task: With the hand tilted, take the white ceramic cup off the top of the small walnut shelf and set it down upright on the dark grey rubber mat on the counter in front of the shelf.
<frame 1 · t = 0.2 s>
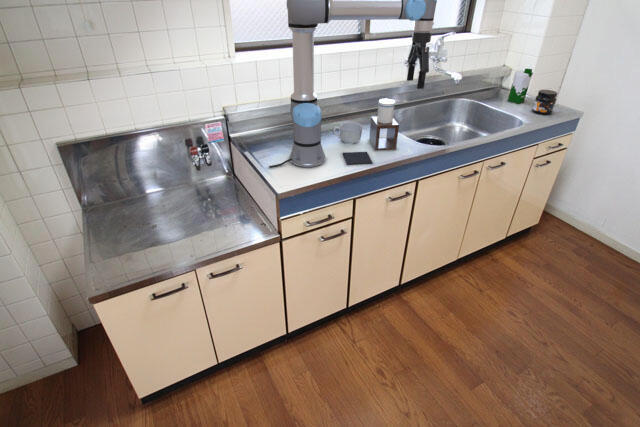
hand: (414, 84, 169), 28 cm above the counter, tool pointing down, fingers open, 13 cm apart
teacup: (346, 141, 186), on the counter
mat: (357, 158, 170), on the counter
shelf: (382, 144, 183), on the counter
cup: (384, 120, 176), point 12 cm above the counter, touching shelf
supplement container: (541, 112, 224), on the counter
milk carton: (515, 102, 241), on the counter
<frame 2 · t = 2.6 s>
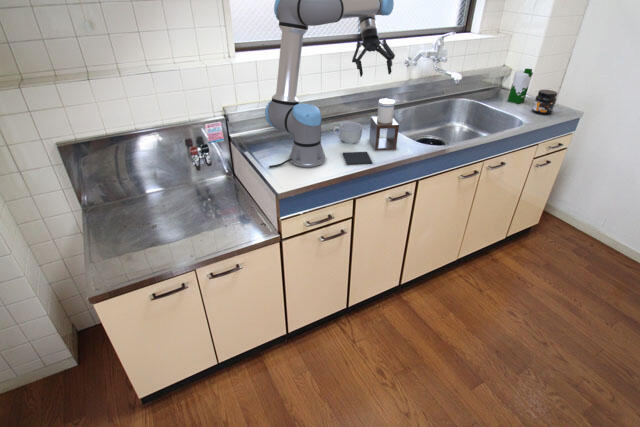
hand: (375, 74, 179), 29 cm above the counter, tool tilted 40°, fingers open, 13 cm apart
nothing on the counter moved.
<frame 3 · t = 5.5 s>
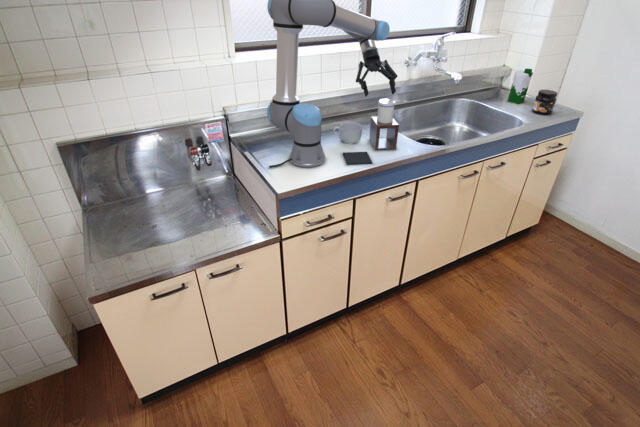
hand: (380, 94, 176), 22 cm above the counter, tool tilted 45°, fingers open, 13 cm apart
nothing on the counter moved.
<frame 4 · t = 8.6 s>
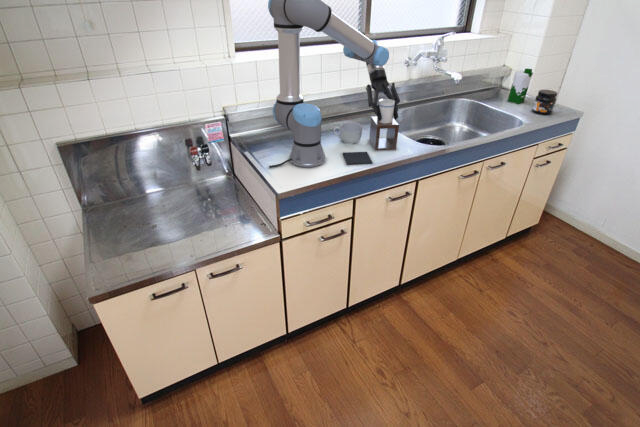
hand: (388, 119, 172), 14 cm above the counter, tool tilted 45°, fingers closed on cup, 7 cm apart
cup: (384, 120, 176), point 12 cm above the counter, touching gripper, shelf
everything else where it was.
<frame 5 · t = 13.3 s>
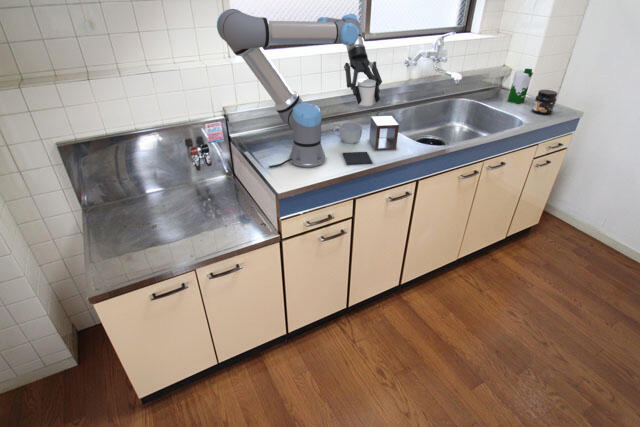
hand: (368, 101, 155), 26 cm above the counter, tool tilted 45°, fingers closed on cup, 7 cm apart
cup: (365, 103, 159), point 24 cm above the counter, touching gripper
everything else where it was.
when the fingers open (3 cm above the counter, at t = 17.9 s): cup stays where it is, resting on mat.
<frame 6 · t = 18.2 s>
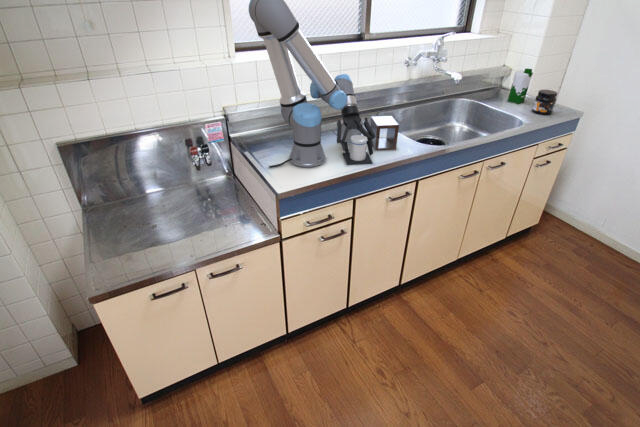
hand: (360, 155, 166), 3 cm above the counter, tool tilted 45°, fingers open, 10 cm apart
cup: (357, 157, 169), point 1 cm above the counter, touching mat
everything else where it was.
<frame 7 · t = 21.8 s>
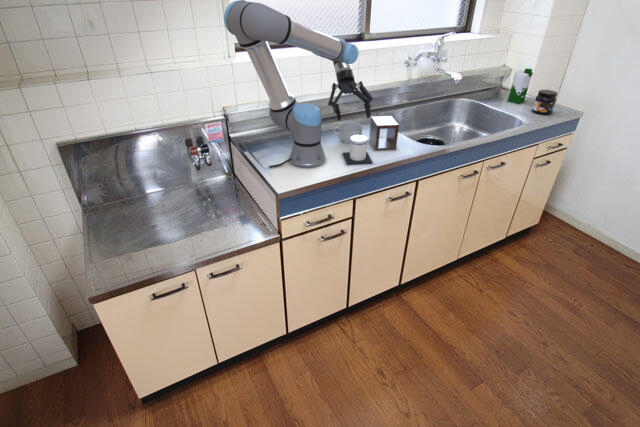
hand: (354, 117, 166), 17 cm above the counter, tool tilted 45°, fingers open, 13 cm apart
nothing on the counter moved.
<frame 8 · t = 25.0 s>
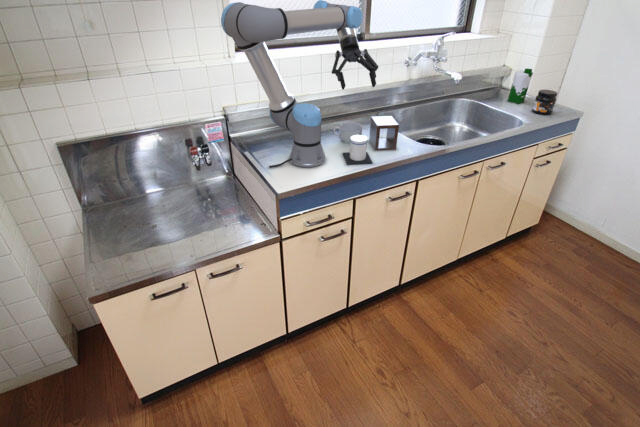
hand: (359, 86, 159), 30 cm above the counter, tool tilted 45°, fingers open, 13 cm apart
nothing on the counter moved.
at the end: cup inside the target area on the mat (0.2 cm from its centre), point 0.8 cm above the mat's base; cup tilted 0°; cup touching mat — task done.
